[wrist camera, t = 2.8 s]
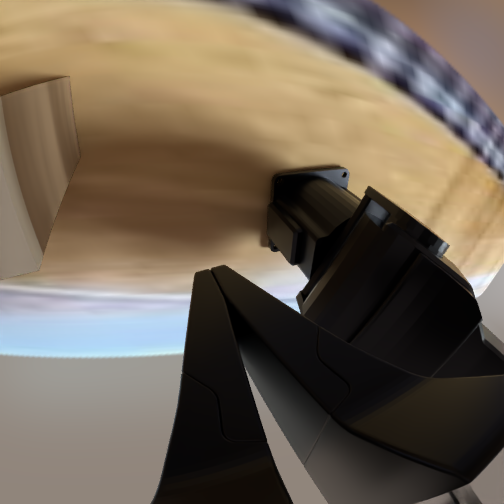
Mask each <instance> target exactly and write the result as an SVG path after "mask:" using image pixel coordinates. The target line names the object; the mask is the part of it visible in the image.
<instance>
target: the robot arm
mask: <svg viewBox="0 0 504 504" xmlns="http://www.w3.org/2000/svg"><path fill="white" fill-rule="evenodd" d="M343 172H344V174H343V175H342V173H343ZM279 179H282V180H281V182H280V183H277V182H278V180H279ZM348 179H349V171H348V170H347V169H346V168H344V167H338V168H326V169H315V170H305V171H295V172H286V173H278V174H276V175H274V177H273V178H272V187H271V202H270V204H269V205H268V219H267V235H268V236H269V244H268V246H269V248H270V249H271V251H273V252H277V251H280V252H281V253H282V254H283V256H284V257H285V258H286V260H287V261H288V262H289V263H290V264H291V265H292V266H294V265H298V267H299V268H300V269H301V271H302V272H303V273H304V274H305V276H306V277H307V278H308V280H309V282H308V283H307V284H306V286H305V287H304V289H303V290H301V291H300V292H299V293H298V295H297V296H296V299H297V302H298V306H299V309H300V313H301V314H300V313H298V312H297V311H295V310H294V309H292V308H291V307H289V306H287V305H286V304H284V303H283V302H281V301H280V300H278V299H277V298H275V297H274V296H272V295H270V294H269V293H267V292H266V291H264V290H263V289H261V288H260V287H258V286H257V285H255V284H254V283H252V282H250V281H249V280H247V279H246V278H244V277H243V276H241V275H240V274H238V273H237V272H235V271H234V270H232V269H231V268H229V267H228V266H226V265H221V266H217V267H213V268H211V270H209V269H206V270H202V271H199V272H196V273H195V275H194V282H193V289H192V295H191V302H190V310H189V317H188V324H187V332H186V340H185V348H184V356H183V366H182V374H181V382H180V390H179V397H178V404H177V410H176V415H175V419H174V424H173V429H172V433H171V437H170V441H169V445H168V450H167V454H166V458H165V462H164V466H163V471H162V475H161V479H160V482H159V485H158V488H157V491H156V494H155V496H154V498H153V500H152V502H151V504H293V502H292V500H291V497H290V495H289V493H288V491H287V489H286V487H285V485H284V483H283V480H282V478H281V476H280V474H279V472H278V469H277V467H276V464H275V462H274V459H273V456H272V453H271V451H270V448H269V445H268V443H267V438H266V435H265V432H264V429H263V426H262V423H261V420H260V416H259V414H258V410H257V407H256V404H255V400H254V397H253V394H252V391H251V387H250V384H249V381H248V377H247V374H246V370H247V371H248V373H249V375H250V377H251V379H252V380H253V382H254V384H255V386H256V387H257V389H258V391H259V393H260V394H261V396H262V398H263V400H264V401H265V403H266V405H267V407H268V408H269V410H270V411H271V413H272V415H273V417H274V418H275V420H276V422H277V423H278V425H279V427H280V428H281V430H282V432H283V433H284V435H285V436H286V438H287V440H288V441H289V443H290V445H291V446H292V448H293V450H294V451H295V453H296V454H297V456H298V458H299V459H300V461H301V462H302V464H303V465H304V467H305V469H306V470H307V472H308V474H309V475H310V477H311V478H312V480H313V481H314V483H315V484H316V486H317V487H318V489H319V490H320V492H321V493H322V495H323V496H324V498H325V499H326V501H327V502H328V504H504V343H503V342H502V341H500V340H499V339H498V338H497V337H496V336H495V335H494V334H493V333H492V332H491V331H490V330H489V329H487V328H486V327H485V326H484V325H483V324H482V323H481V321H482V316H481V312H480V310H479V306H478V303H477V301H476V299H475V295H474V292H473V289H472V286H471V285H470V283H469V282H468V281H467V279H466V278H465V277H464V276H463V274H462V273H461V272H460V270H459V269H458V268H457V267H456V266H455V265H454V264H453V263H452V262H451V261H450V260H448V259H447V258H446V257H445V256H444V255H443V254H445V252H446V251H447V249H448V248H449V246H450V245H448V244H447V243H446V242H445V241H444V240H443V239H441V238H440V237H439V236H438V235H437V234H435V233H434V232H433V231H432V230H431V229H429V228H428V227H427V226H426V225H424V224H423V223H422V222H420V221H419V220H418V219H416V218H415V217H414V216H412V215H411V214H410V213H408V212H407V211H406V210H404V209H403V208H401V207H400V206H398V205H397V204H396V203H394V202H393V201H391V200H390V199H388V198H387V197H385V196H384V195H382V194H381V193H379V192H378V191H376V190H375V189H373V188H372V187H370V186H368V187H367V189H366V191H365V192H364V193H365V195H364V197H363V199H362V200H361V199H360V198H359V197H357V196H356V195H354V194H353V193H352V192H350V191H349V190H348V189H347V185H348ZM274 245H276V246H274ZM244 366H245V367H244ZM245 368H246V370H245Z"/></svg>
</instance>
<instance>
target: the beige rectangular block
mask: <svg viewBox="0 0 504 504" xmlns="http://www.w3.org/2000/svg"><path fill="white" fill-rule="evenodd" d="M80 157H81V155H80V149H79V144H78V138H77V132H76V125H75V119H74V111H73V104H72V95H71V86H70V76H68V77H64V78H60V79H56V80H52V81H48V82H44V83H41V84H37V85H34V86H31V87H27V88H24V89H21V90H18V91H15V92H12V93H9V94H6V95H3V96H1V97H0V280H3V279H7V278H11V277H15V276H19V275H23V274H27V273H31V272H35V271H39V269H40V265H41V262H42V258H43V255H44V252H45V248H46V245H47V242H48V239H49V236H50V233H51V230H52V227H53V224H54V221H55V218H56V215H57V213H58V210H59V207H60V204H61V202H62V199H63V197H64V194H65V192H66V189H67V187H68V184H69V182H70V180H71V177H72V175H73V173H74V170H75V168H76V166H77V164H78V161H79V159H80Z"/></svg>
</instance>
